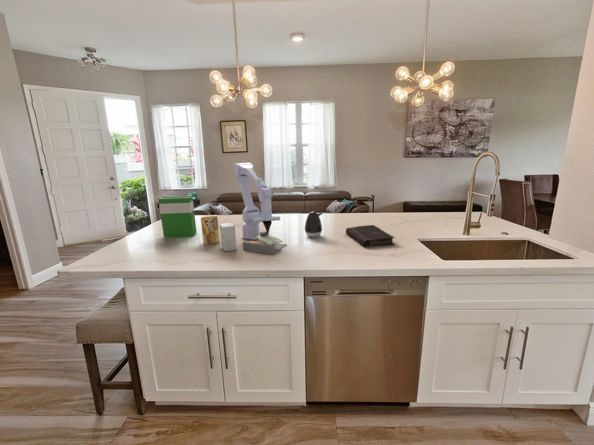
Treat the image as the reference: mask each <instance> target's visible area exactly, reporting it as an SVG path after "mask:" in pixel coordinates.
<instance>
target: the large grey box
mask: <svg viewBox="0 0 594 445" xmlns="http://www.w3.org/2000/svg"><path fill="white" fill-rule="evenodd" d="M256 242H261V243H264V242H263V241H261V240H259V239H258V240H257V241H256ZM284 247H287V243H282V242H280V243H276V244H271V245H268V244H267V245H265V244H258V243H251V242H249V241H242V250H245V251H250V252H256V253H261V254H262V253H263V254H268V255H273V254H275V253H277V252H278V251H281V249H283V248H284Z"/></svg>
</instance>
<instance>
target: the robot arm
mask: <svg viewBox="0 0 594 445" xmlns="http://www.w3.org/2000/svg"><path fill="white" fill-rule="evenodd" d="M233 173H234V177H235V179H236V180H237V182H238V186H239V190H240V192H241V197H242V199H243V204H244V208H243V209H242V212H241V214H242V220H243V224H242V228H241V229H242V238H243V239H248V240H252V241H254V240H255V241H256V240H257V238H256V236H260V223H262V224H263V226H264V228H265V232H267V235H268V234H270V228H271V226H272V224H273V222H274V221H278V222H279V221H281V216H280V215H278V216H277V215H275V216H273V213H272V212H273V211H272V210H273V209H272V198H273V195H274V191H273V188H272V187H271V186H269V185H267V184H266V183H265V182H264V180H263V179H262V178H261V177H258V175H257V173H256V172H255V170H254V165H253V163H252V162H249V161H248V162H240V163H238V162H236V163H234V165H233ZM248 179H249V180H251V181H252V186H253V187H254V188H255V190H256V191H257V196H258V198H259V199H258V200H259V202H260V209H259V207H257V206H256V205H255V204H254V201H253V197H252V193H251V189H250V186H249V183H248Z"/></svg>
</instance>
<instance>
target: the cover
mask: <svg viewBox="0 0 594 445" xmlns="http://www.w3.org/2000/svg"><path fill="white" fill-rule="evenodd" d="M259 235H260V236H256V238H257V239H258V241H259V240H260V241H263V242H264V243H266V244H268V245H271V244H276V243H283V242H284V241H283V240H282V239H280V238H278V237H276V236H274V235H272V234H270V233H269V234H268V235H267V232H266V230H264V231H259ZM257 239H256V240H257Z"/></svg>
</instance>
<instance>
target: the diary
mask: <svg viewBox="0 0 594 445" xmlns="http://www.w3.org/2000/svg"><path fill="white" fill-rule="evenodd" d="M345 234H346V235H347V236H348V237H350V239H353V241H355V242H356V243H358V244H359V245H361V247H363V248H366V247H367V248H369V247H375V246H376V247H378V246H380V247H384V246H385V247H386V246H393V245H395V243H396V242H395V243H393V239H396V237H395V236H393V235H391V234H389V233H388V232H386V231H384V230H383V229H381V228H380V227H378V226H376V225H374V224H369V225H367V224H366V225H359V226H352V227H347V228H346V229H345Z"/></svg>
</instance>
